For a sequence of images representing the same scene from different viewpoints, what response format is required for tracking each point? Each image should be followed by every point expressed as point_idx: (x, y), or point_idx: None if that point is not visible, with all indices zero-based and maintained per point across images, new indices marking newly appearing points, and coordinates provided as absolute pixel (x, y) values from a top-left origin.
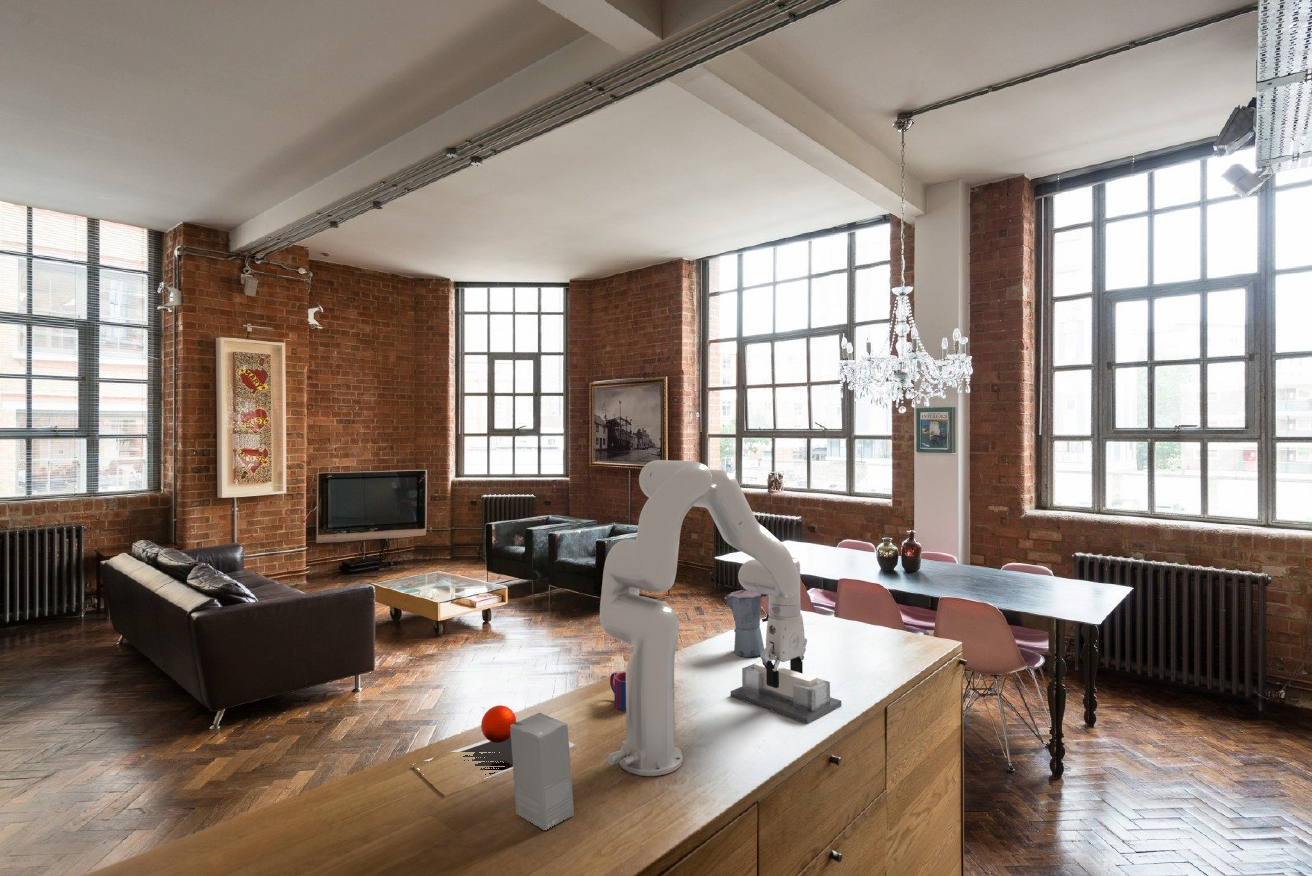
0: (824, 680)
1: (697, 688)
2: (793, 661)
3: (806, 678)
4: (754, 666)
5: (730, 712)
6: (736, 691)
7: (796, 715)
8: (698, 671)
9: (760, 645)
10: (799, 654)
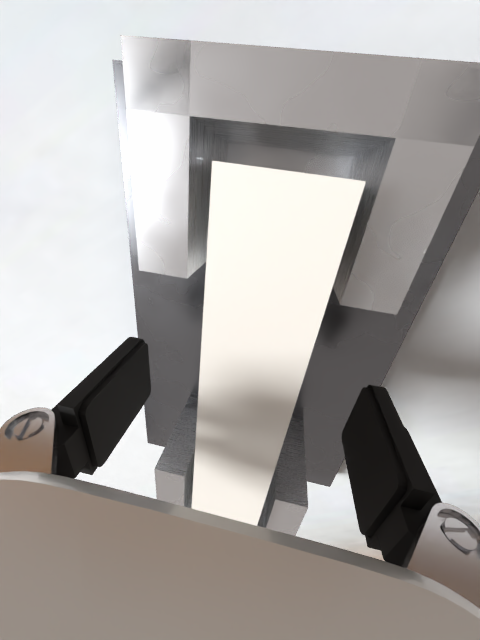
0: (130, 119)
1: (322, 533)
2: (101, 444)
3: (294, 249)
4: None
5: (472, 440)
6: (321, 474)
7: (471, 196)
8: None
9: None
10: (81, 511)
